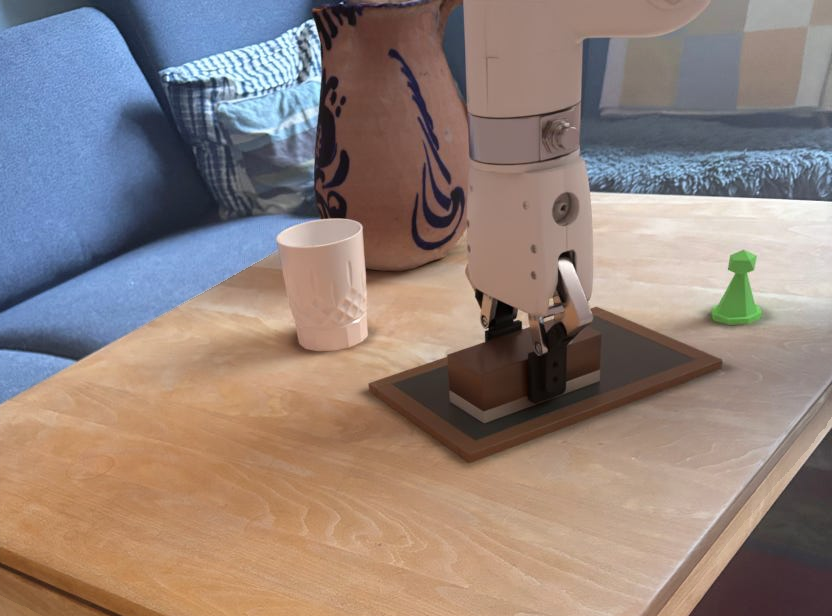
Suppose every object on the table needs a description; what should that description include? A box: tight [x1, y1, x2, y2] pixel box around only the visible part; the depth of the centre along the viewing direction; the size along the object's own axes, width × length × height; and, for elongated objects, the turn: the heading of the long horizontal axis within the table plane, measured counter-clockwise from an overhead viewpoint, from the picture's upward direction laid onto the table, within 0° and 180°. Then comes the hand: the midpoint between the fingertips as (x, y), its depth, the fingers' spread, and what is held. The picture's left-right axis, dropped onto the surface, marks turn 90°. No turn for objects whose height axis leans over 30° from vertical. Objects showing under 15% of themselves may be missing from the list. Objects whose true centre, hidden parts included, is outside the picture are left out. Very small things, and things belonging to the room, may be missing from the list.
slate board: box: [368, 306, 723, 464], centre depth 80 cm, size 24×16×1 cm, turn 117°
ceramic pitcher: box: [311, 0, 470, 272], centre depth 102 cm, size 18×21×25 cm
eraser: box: [446, 318, 602, 423], centre depth 76 cm, size 11×5×4 cm, turn 117°
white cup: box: [275, 219, 369, 352], centre depth 90 cm, size 8×8×10 cm
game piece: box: [710, 249, 763, 326], centre depth 84 cm, size 4×4×6 cm
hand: (525, 383), depth 77 cm, fingers closed on eraser, 5 cm apart
